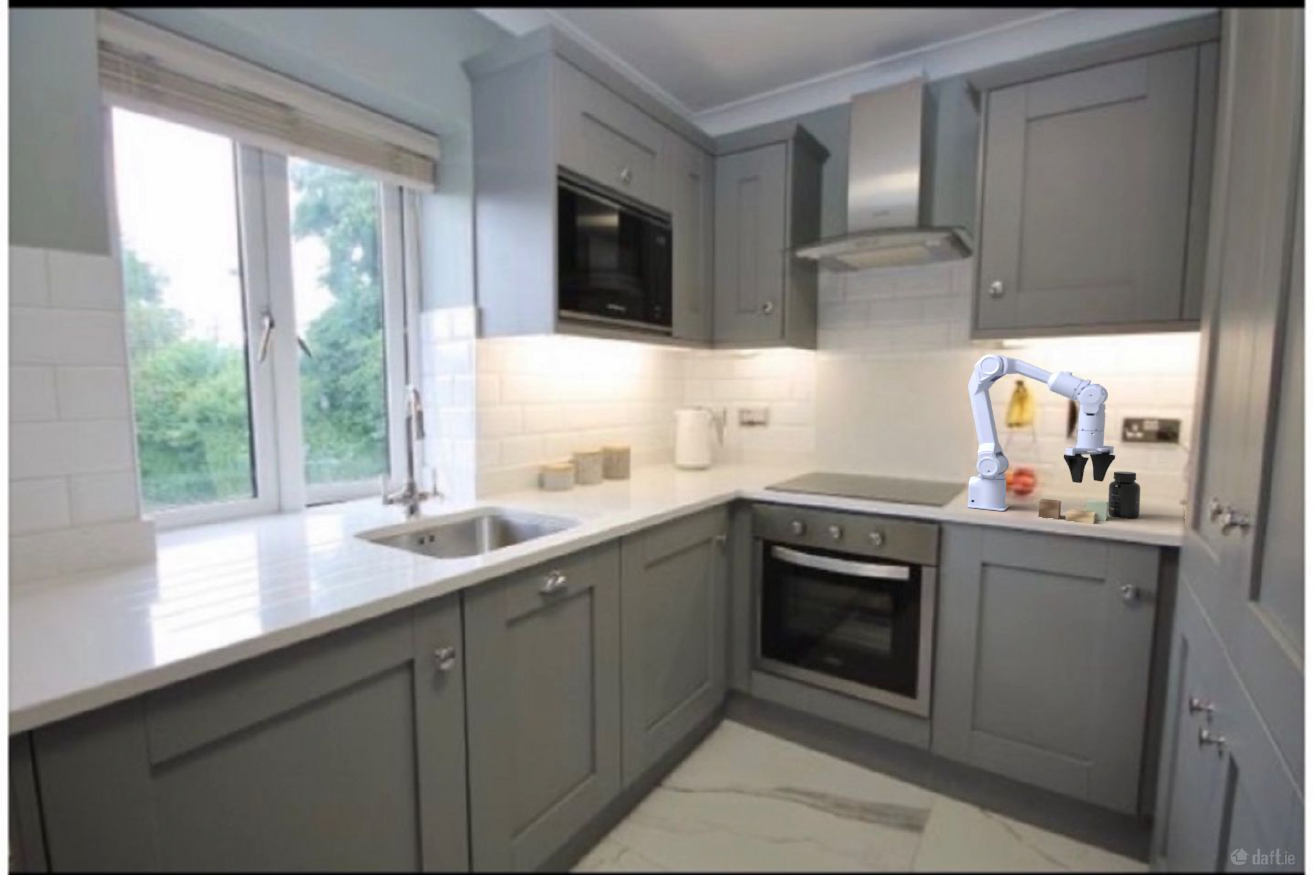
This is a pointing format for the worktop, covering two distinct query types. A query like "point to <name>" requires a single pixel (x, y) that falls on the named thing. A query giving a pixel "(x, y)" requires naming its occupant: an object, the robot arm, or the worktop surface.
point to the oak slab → (1081, 516)
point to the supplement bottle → (1124, 496)
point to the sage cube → (1098, 508)
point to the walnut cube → (1049, 508)
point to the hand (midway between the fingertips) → (1087, 481)
